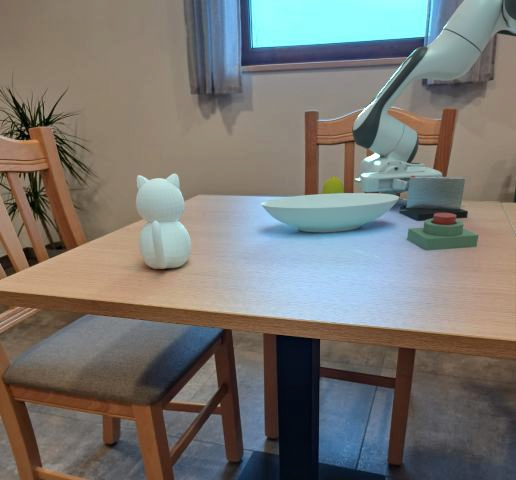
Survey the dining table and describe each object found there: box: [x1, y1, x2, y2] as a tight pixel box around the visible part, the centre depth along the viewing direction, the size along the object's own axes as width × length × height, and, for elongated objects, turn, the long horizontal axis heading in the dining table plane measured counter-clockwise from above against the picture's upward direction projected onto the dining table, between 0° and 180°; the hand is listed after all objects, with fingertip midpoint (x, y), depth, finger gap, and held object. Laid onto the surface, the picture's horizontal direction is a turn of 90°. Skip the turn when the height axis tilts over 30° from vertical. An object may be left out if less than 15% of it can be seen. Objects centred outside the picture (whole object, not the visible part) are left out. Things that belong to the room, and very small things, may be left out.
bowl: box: [261, 192, 400, 233], centre depth 100 cm, size 30×15×6 cm, turn 97°
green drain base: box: [406, 218, 479, 251], centre depth 88 cm, size 10×8×4 cm
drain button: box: [433, 213, 457, 225], centre depth 87 cm, size 4×4×2 cm
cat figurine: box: [135, 173, 192, 270], centre depth 78 cm, size 9×12×15 cm
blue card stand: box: [406, 176, 466, 210], centre depth 108 cm, size 12×2×7 cm, turn 71°
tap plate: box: [399, 205, 469, 222], centre depth 110 cm, size 16×16×2 cm
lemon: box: [321, 175, 345, 194], centre depth 119 cm, size 6×6×8 cm
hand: (412, 185), depth 110 cm, fingers closed
